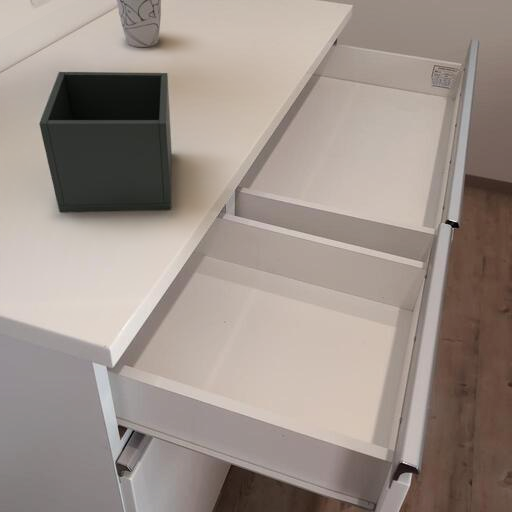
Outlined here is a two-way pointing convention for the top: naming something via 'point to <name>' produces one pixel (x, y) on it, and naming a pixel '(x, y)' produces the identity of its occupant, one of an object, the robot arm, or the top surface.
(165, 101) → the bin
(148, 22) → the mug
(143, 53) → the top surface
